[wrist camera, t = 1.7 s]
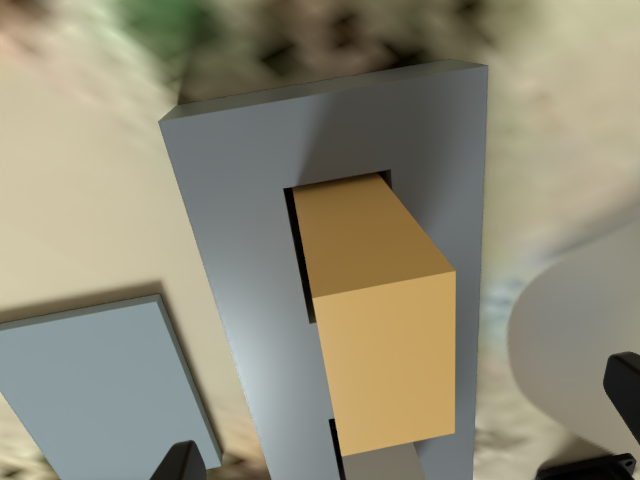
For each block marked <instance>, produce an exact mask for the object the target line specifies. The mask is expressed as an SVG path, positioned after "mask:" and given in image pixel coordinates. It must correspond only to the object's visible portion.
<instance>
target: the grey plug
mask: <svg viewBox="0 0 640 480" xmlns="http://www.w3.org/2000/svg"><path fill="white" fill-rule="evenodd" d="M342 460H343V465H344V471H345V476H346V480H426V478H425V475H424V472H423V469H422V466H421V464H420V461H419V458H418V455H417V453H416V450H415V447H414V444H413V442H409V443H405V444H400V445H395V446H390V447H385V448H380V449H376V450H371V451H366V452H361V453H356V454H351V455H347V456H342Z"/></svg>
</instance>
